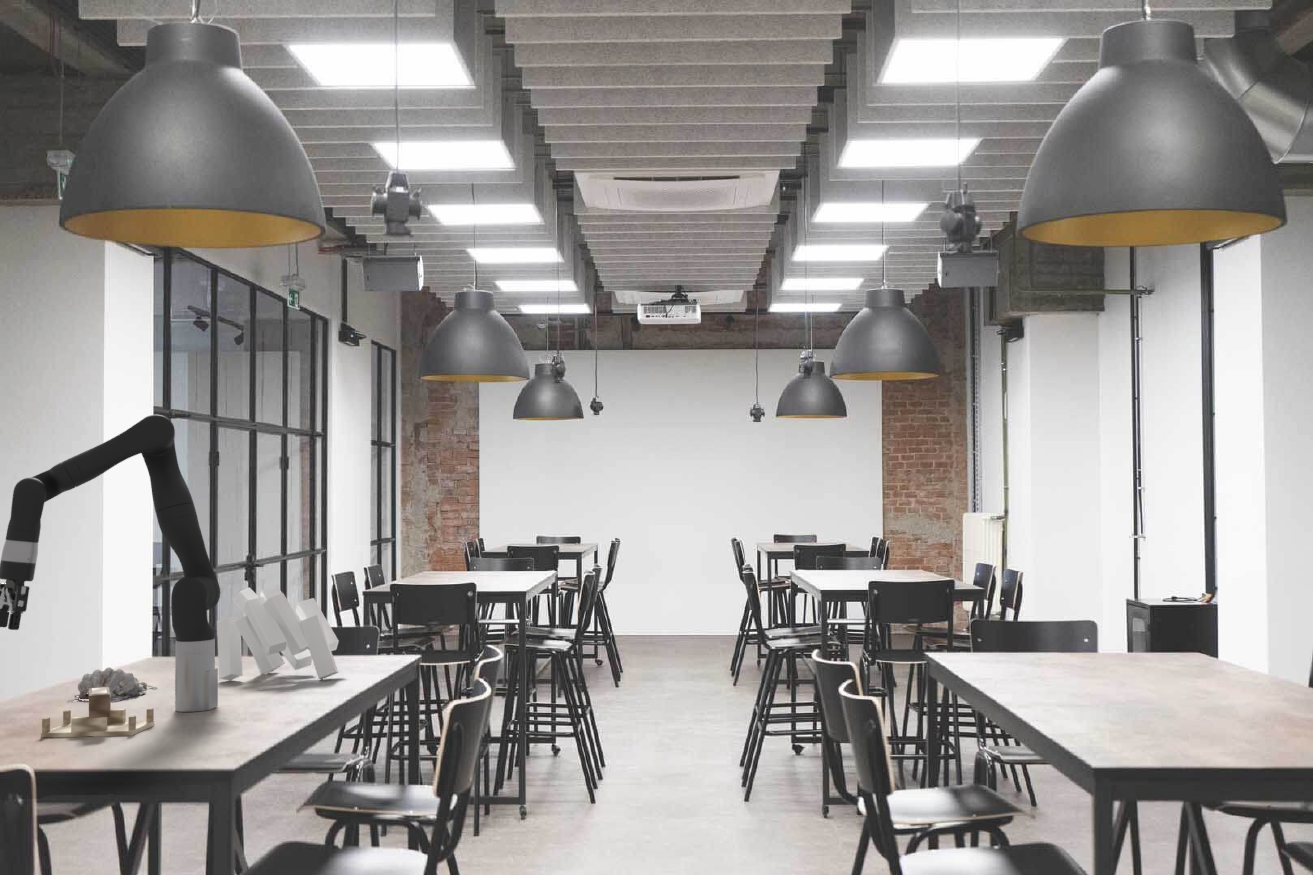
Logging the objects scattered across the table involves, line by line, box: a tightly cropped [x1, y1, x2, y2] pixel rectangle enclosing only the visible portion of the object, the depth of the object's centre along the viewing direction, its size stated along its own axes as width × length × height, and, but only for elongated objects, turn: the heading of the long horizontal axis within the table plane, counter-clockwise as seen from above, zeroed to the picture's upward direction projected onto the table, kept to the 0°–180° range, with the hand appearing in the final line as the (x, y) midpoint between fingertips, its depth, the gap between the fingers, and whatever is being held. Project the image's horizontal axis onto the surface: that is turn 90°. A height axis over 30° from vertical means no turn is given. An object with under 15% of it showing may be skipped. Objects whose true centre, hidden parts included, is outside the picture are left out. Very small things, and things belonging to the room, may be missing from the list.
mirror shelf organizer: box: [40, 707, 155, 738], centre depth 262 cm, size 20×12×4 cm, turn 91°
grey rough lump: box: [67, 667, 157, 703], centre depth 315 cm, size 19×10×30 cm
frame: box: [88, 687, 112, 719], centre depth 262 cm, size 4×12×5 cm, turn 26°
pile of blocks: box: [216, 585, 340, 681], centre depth 343 cm, size 35×30×35 cm
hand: (7, 628), depth 275 cm, fingers open, 8 cm apart
